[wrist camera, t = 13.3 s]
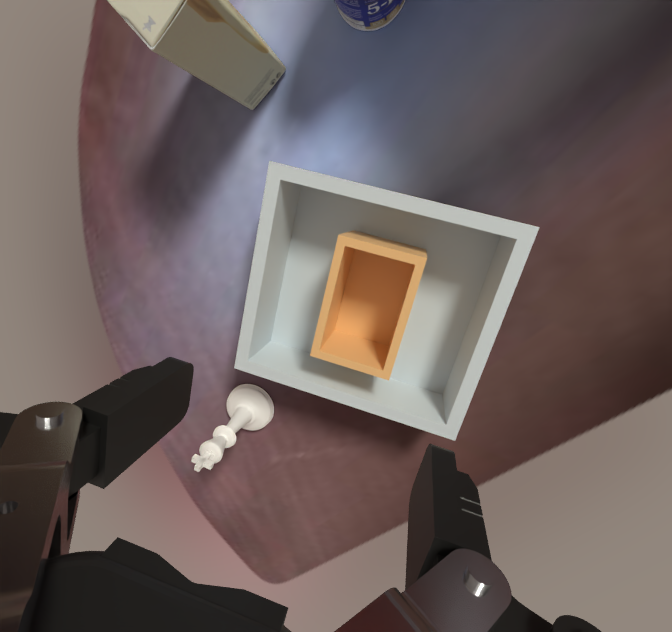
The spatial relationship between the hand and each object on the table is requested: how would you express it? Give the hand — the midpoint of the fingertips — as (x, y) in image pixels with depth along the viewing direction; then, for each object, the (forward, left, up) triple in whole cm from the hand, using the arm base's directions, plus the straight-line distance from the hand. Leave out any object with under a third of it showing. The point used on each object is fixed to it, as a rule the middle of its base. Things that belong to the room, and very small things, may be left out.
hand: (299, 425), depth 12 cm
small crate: (0, 0, -21) cm, 21 cm away
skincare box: (+15, -15, -22) cm, 31 cm away
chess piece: (+9, +15, -22) cm, 28 cm away
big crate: (0, 0, -22) cm, 22 cm away
